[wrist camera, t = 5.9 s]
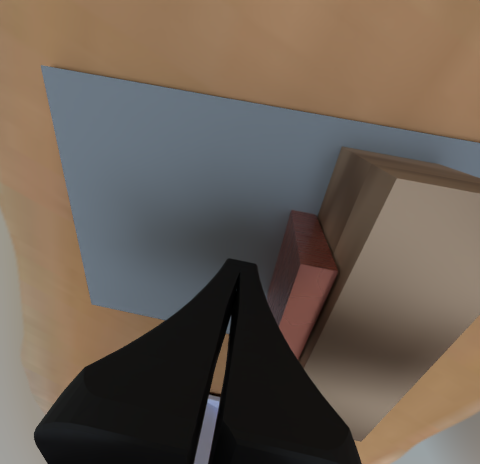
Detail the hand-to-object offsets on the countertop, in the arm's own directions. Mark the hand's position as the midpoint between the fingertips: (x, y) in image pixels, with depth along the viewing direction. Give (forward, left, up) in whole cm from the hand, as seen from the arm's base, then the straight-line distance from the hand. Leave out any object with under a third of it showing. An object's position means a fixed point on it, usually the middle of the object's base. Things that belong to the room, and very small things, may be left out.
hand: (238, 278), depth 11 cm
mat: (0, 0, -3) cm, 3 cm away
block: (0, -5, -2) cm, 6 cm away
